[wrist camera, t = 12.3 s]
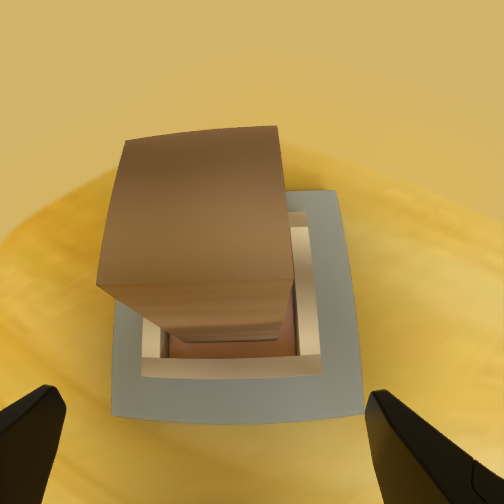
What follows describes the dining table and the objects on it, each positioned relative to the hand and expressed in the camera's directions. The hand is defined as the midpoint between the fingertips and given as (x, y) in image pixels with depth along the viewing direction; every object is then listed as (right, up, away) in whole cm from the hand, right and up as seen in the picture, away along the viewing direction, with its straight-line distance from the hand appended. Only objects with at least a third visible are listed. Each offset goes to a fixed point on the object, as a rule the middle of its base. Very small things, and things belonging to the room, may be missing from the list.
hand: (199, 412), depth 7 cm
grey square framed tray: (0, +1, +12) cm, 12 cm away
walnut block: (0, +2, +10) cm, 10 cm away
